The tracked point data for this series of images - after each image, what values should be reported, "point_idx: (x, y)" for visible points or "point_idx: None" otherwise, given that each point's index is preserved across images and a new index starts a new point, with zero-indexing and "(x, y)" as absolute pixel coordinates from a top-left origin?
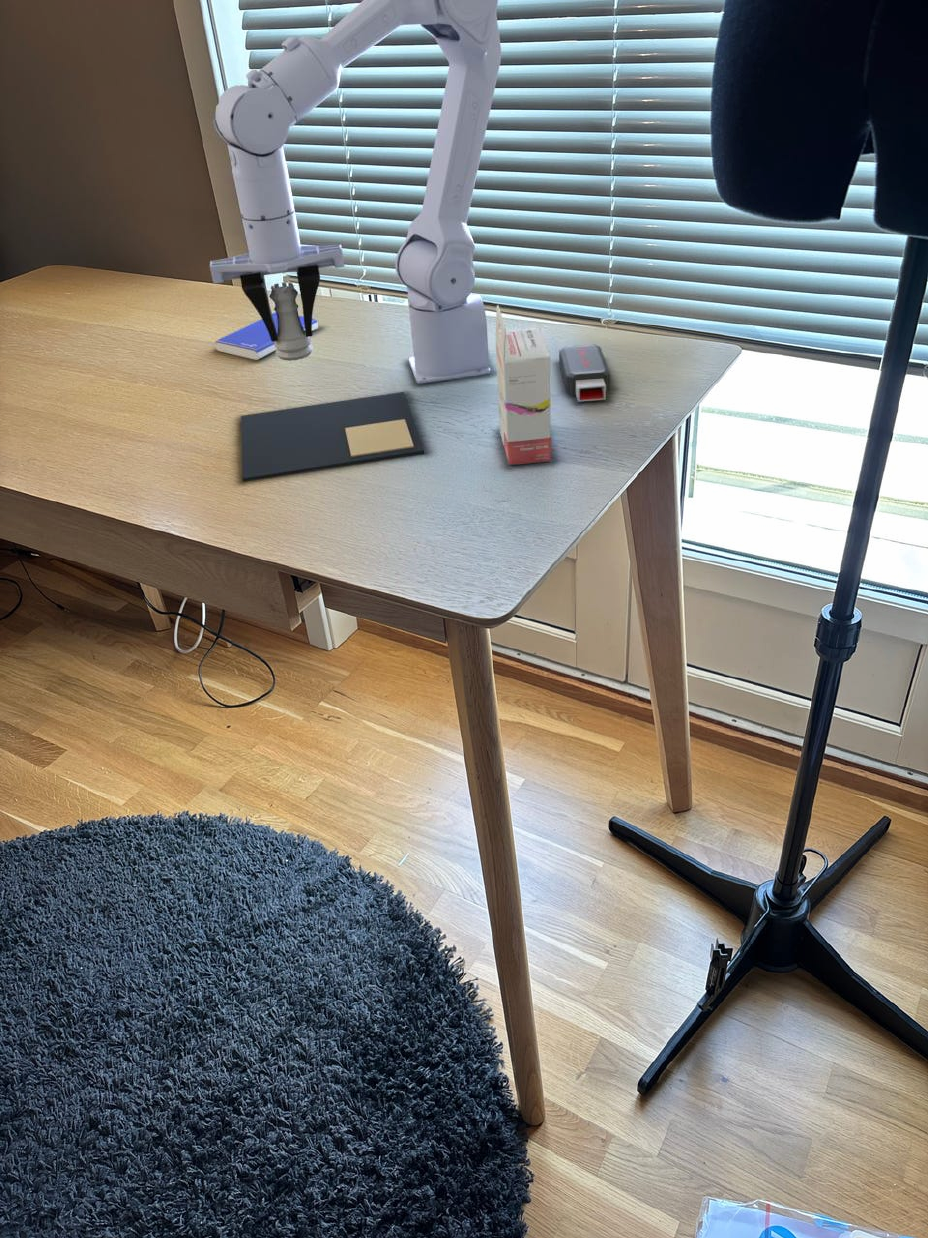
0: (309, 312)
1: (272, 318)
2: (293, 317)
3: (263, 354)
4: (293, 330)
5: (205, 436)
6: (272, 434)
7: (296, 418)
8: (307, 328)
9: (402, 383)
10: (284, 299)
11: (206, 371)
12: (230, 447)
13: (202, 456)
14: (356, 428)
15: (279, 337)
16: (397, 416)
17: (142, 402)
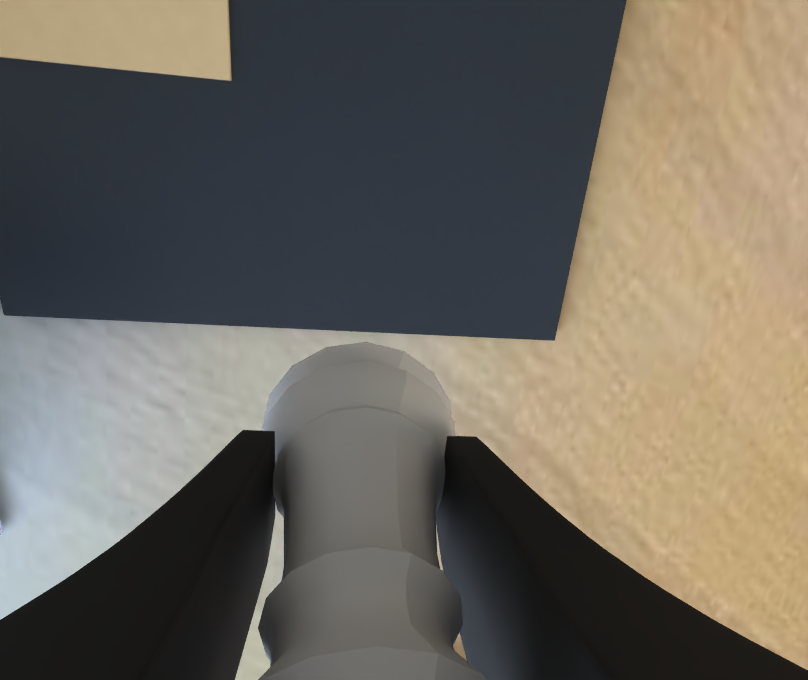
0: (173, 514)
1: (468, 571)
2: (323, 522)
3: None
4: (344, 448)
5: (672, 262)
6: (490, 161)
7: (395, 252)
8: (247, 448)
9: (22, 398)
10: (373, 643)
11: None
12: (626, 148)
13: (719, 119)
14: (185, 54)
15: (434, 450)
16: (17, 110)
17: (752, 521)
